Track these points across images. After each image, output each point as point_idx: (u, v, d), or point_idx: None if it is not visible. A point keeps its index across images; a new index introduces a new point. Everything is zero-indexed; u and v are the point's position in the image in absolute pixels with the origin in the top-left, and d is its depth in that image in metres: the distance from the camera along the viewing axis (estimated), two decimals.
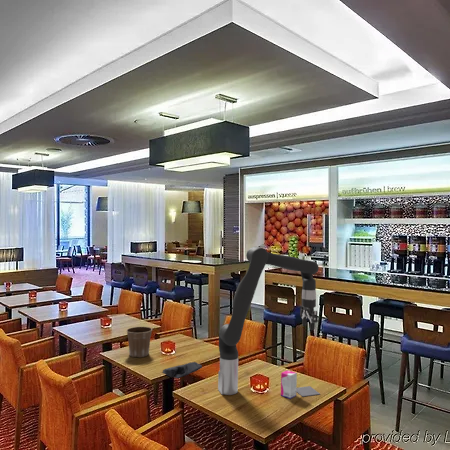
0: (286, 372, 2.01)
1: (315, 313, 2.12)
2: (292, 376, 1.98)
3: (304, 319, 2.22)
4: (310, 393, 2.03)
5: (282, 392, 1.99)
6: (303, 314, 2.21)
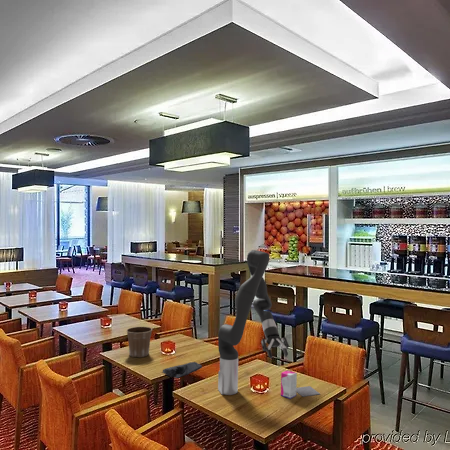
0: (286, 372, 2.01)
1: None
2: (292, 376, 1.98)
3: None
4: (310, 393, 2.03)
5: (282, 392, 1.99)
6: (271, 343, 2.14)
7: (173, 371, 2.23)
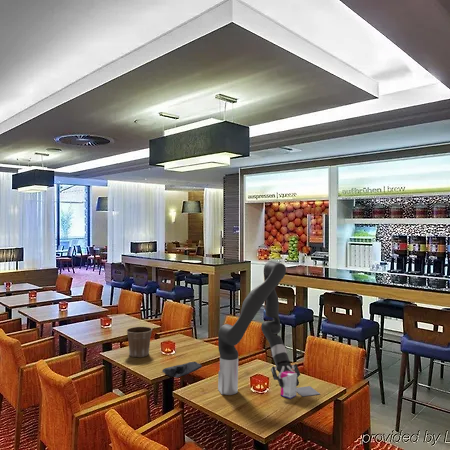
0: (286, 372, 2.01)
1: None
2: (292, 376, 1.98)
3: None
4: (310, 393, 2.03)
5: (282, 392, 1.99)
6: (282, 371, 2.02)
7: (173, 371, 2.24)
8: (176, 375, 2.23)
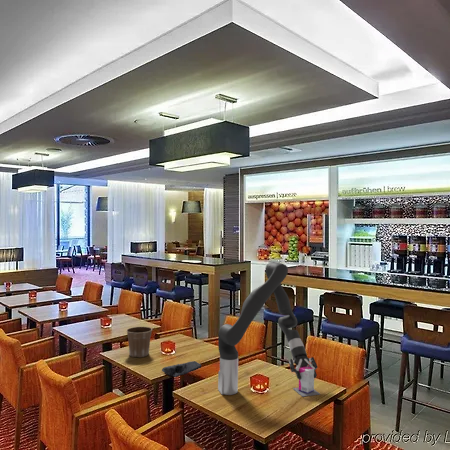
0: (304, 367, 2.07)
1: None
2: (310, 371, 2.03)
3: None
4: (310, 393, 2.03)
5: (300, 387, 2.05)
6: (300, 364, 2.07)
7: (172, 370, 2.25)
8: (175, 374, 2.24)
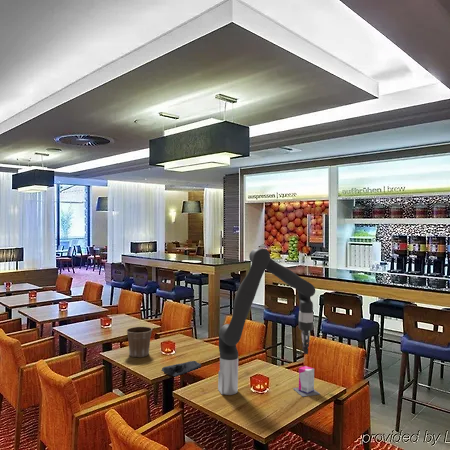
0: (304, 367, 2.07)
1: (306, 338, 2.08)
2: (310, 371, 2.03)
3: (304, 343, 2.18)
4: (310, 393, 2.03)
5: (300, 387, 2.05)
6: (302, 337, 2.17)
7: (171, 369, 2.26)
8: (174, 374, 2.24)
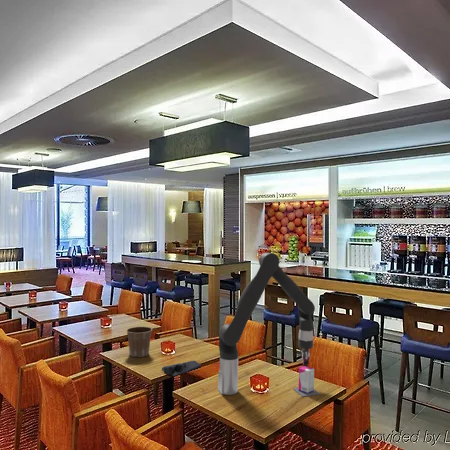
0: (304, 367, 2.06)
1: (306, 359, 2.07)
2: (310, 371, 2.03)
3: None
4: (310, 393, 2.03)
5: (300, 387, 2.05)
6: (302, 356, 2.14)
7: (171, 369, 2.26)
8: (174, 373, 2.25)
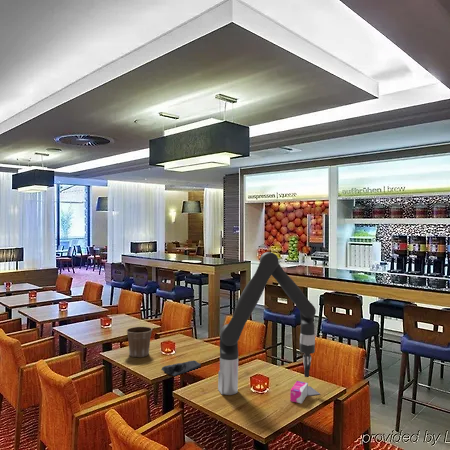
0: (293, 397, 1.93)
1: (308, 364, 1.99)
2: (302, 400, 1.92)
3: None
4: (310, 393, 2.03)
5: None
6: (303, 360, 2.06)
7: (171, 369, 2.27)
8: (174, 373, 2.25)
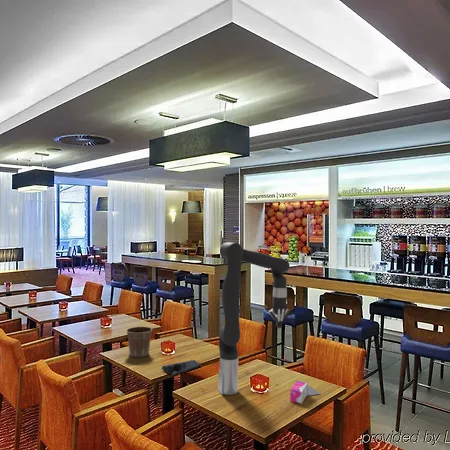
0: (293, 397, 1.93)
1: None
2: (302, 399, 1.92)
3: None
4: (310, 393, 2.03)
5: None
6: (279, 314, 2.17)
7: (170, 368, 2.28)
8: (173, 372, 2.27)
